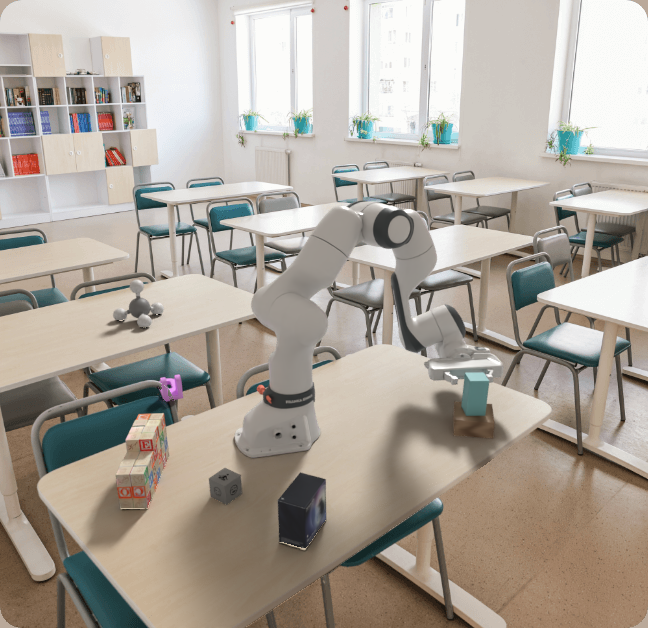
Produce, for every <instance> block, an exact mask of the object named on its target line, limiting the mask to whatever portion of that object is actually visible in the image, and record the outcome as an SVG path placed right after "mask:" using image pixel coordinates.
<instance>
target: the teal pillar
mask: <svg viewBox="0 0 648 628" xmlns="http://www.w3.org/2000/svg"><path fill="white" fill-rule="evenodd" d="M462 387H463V388H462V397H461V402H462V404H461V407H462V409H463V411H464V412H465V414H466V416H485V414H486V405H487V404H488V394H489V387H490V383H489V380H488V378H487V377H486V375H485V374H484V372H476V373H465V376H464V379H463V386H462Z"/></svg>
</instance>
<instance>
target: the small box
mask: <svg viewBox="0 0 648 628" xmlns="http://www.w3.org/2000/svg"><path fill="white" fill-rule="evenodd" d="M276 501H277V523H278V524H277V525H278V543H279V542H284V543H287V544H291V545H294V546H297V547H301V548H306V547H307V546H308V545H309V543H310V542H311V541H312V539H313V538H314V536H315V535H316V533H317V532H318V530H319V529H320V528H322V527H323V526H322V524H323V523H324V522H325V523H326V521H327V479H326V478H323V477H320V476H315V475H312V474H308V473H304V472H299V473H298V475H297V476H296V477H295V478H294V479H293V480H292V482H291V483H290V484H289V486H288V487H287V488H286V489H285V491H283V493H282V494H281V495H280V497H279V498H278V499H277V500H276ZM325 520H326V521H325ZM325 523H324V524H325ZM324 524H323V525H324ZM321 526H322V527H321ZM320 530H321V529H320ZM320 530H319V531H320ZM318 533H319V532H318ZM318 533H317V534H318ZM316 536H317V535H316ZM316 536H315V537H316ZM314 539H315V538H314ZM314 539H313V540H314ZM312 542H313V541H312ZM312 542H311V543H312ZM309 546H310V545H309Z"/></svg>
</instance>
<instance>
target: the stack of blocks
mask: <svg viewBox="0 0 648 628" xmlns="http://www.w3.org/2000/svg"><path fill="white" fill-rule="evenodd" d="M166 425H167V424H166V419H165V413H164V412H162V413H138V415H137V417H136V419H135V420H134V421H133V423H132V426H131V428H130V430H129V432H128V434H127V436H126V438H125V441H124V442H125V447H126V454H125V455H124V457H123V459H122V460H121V462H120V464H119V466H118V470H117V471H116V473H115V480H116V485H117V486H116V491H117V495H118V496H117V497H118V502H119V509H120V508H148V505H149V502H150V500H151V499H152V500H153V498H154V496H153V494H154V495H155V493H154V492H156V491H155V489H156V490H157V488H156V486H157V484H158V485H159V482H160V480H159V478H160V479H161V477H162V475H161V474H163V472H162V471H164V470H165V468H164V467H166V465H167V463H166V462H168V461H167V460H169V458H170V451H169V449H170V448H169V443H168V442H169V441H168V437H167V435H168V434H167V426H166ZM168 457H169V458H168ZM165 464H166V465H165ZM163 469H164V470H163ZM160 476H161V477H160ZM158 481H159V482H158ZM157 487H158V486H157ZM152 497H153V498H152ZM152 500H151V501H152ZM150 503H151V502H150ZM149 506H150V505H149ZM148 509H149V508H148Z"/></svg>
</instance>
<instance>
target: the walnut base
mask: <svg viewBox="0 0 648 628" xmlns="http://www.w3.org/2000/svg"><path fill="white" fill-rule="evenodd" d="M461 404H462V401H456V400H455V401H454V402H453V414H452V418H453V419H452V423H453V424H452V425H453V431H452V432H453V436H454V435H455V437H465V436H467V437H469V438H479V439H481V438H482V439H492V440H493V439H494V437H495V435H494V434H495V425H496V424H495V416H494V410H493V403H487V405H486V414H485V416H466V414H465V412H464V411H463V409H462V407H461ZM467 437H466V438H467Z"/></svg>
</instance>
